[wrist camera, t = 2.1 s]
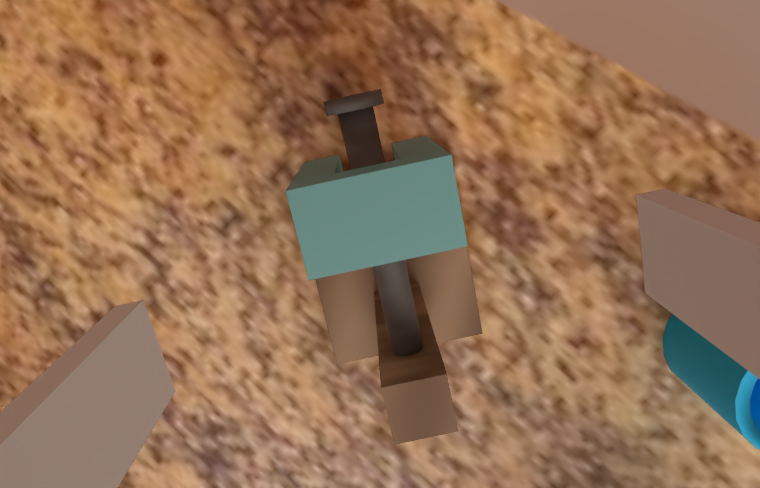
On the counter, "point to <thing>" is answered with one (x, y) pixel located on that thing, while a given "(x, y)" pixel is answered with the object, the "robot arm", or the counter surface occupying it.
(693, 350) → the mug
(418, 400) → the stand
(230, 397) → the counter surface
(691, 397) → the counter surface
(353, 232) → the c link
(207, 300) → the counter surface
